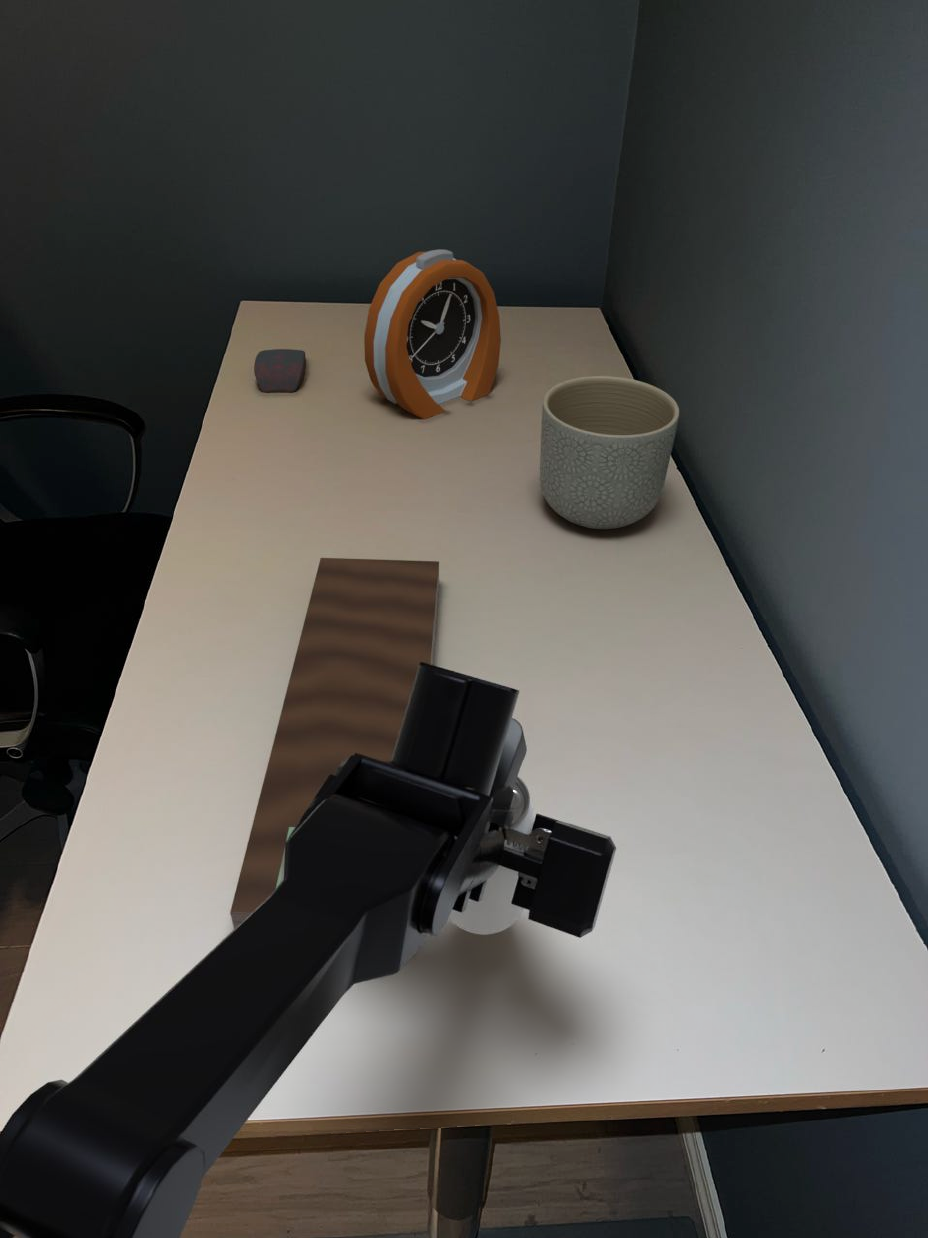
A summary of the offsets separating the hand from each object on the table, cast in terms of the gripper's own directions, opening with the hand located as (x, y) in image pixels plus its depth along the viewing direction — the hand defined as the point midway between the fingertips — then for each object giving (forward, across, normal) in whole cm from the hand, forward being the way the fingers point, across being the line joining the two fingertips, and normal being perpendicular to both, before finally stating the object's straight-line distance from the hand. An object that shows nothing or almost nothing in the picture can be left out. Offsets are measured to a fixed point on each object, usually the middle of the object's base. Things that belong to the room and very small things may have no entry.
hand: (492, 831), depth 67 cm
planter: (+54, +9, -38) cm, 67 cm away
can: (+4, 0, +6) cm, 7 cm away
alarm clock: (+70, +42, -54) cm, 98 cm away
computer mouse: (+68, +69, -52) cm, 110 cm away
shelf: (+20, +20, -3) cm, 28 cm away
